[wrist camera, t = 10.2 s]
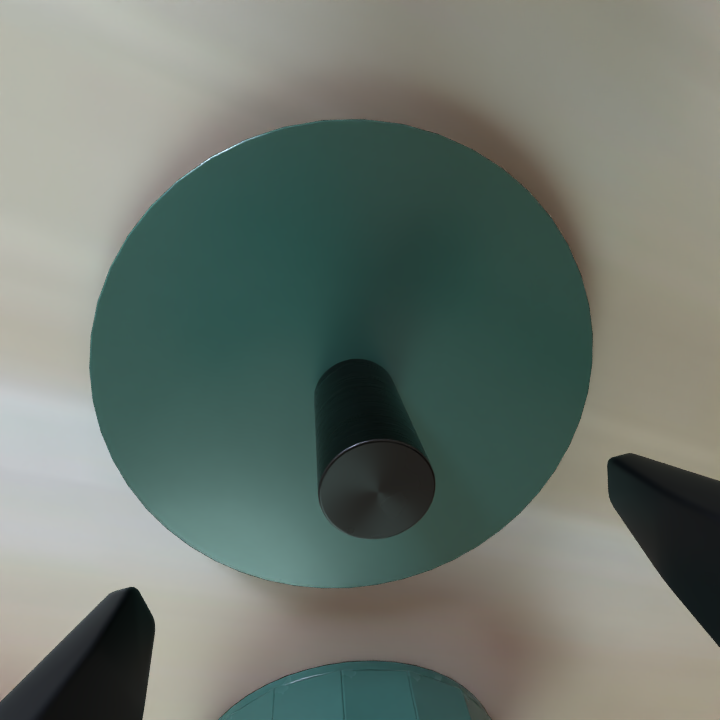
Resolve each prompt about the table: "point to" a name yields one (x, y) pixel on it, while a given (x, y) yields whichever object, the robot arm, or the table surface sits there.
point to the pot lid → (341, 353)
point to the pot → (360, 695)
